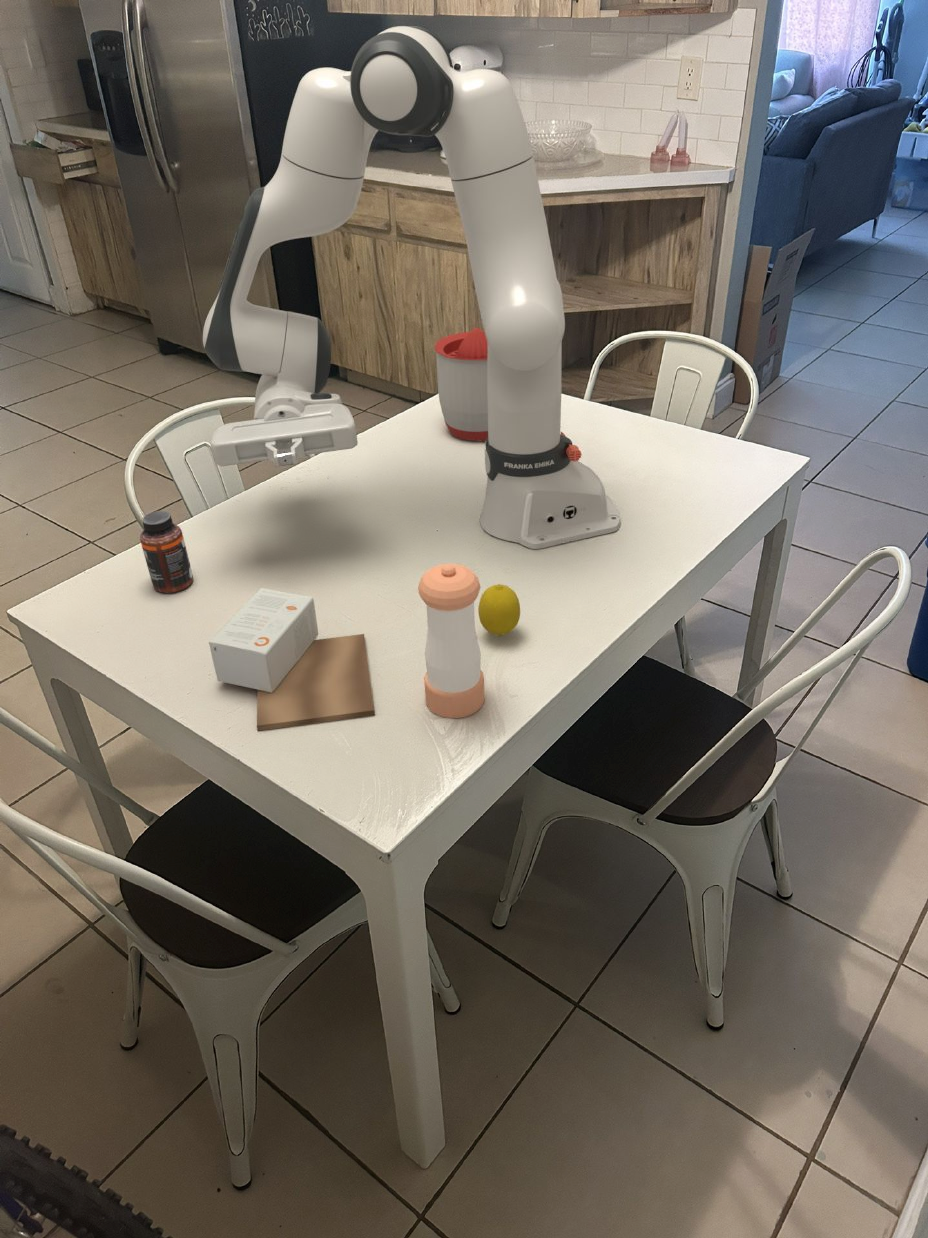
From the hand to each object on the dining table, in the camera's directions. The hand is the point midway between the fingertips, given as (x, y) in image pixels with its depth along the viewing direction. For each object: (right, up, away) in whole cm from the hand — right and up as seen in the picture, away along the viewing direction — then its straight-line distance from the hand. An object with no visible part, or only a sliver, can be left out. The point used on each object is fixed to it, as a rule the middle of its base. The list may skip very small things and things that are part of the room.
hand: (285, 460), depth 124 cm
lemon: (+29, -24, 0) cm, 37 cm away
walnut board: (+5, -29, -7) cm, 31 cm away
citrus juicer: (+28, +15, +55) cm, 64 cm away
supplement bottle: (-19, -16, +13) cm, 29 cm away
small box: (+1, -20, -1) cm, 20 cm away
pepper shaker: (+23, -31, -11) cm, 40 cm away
